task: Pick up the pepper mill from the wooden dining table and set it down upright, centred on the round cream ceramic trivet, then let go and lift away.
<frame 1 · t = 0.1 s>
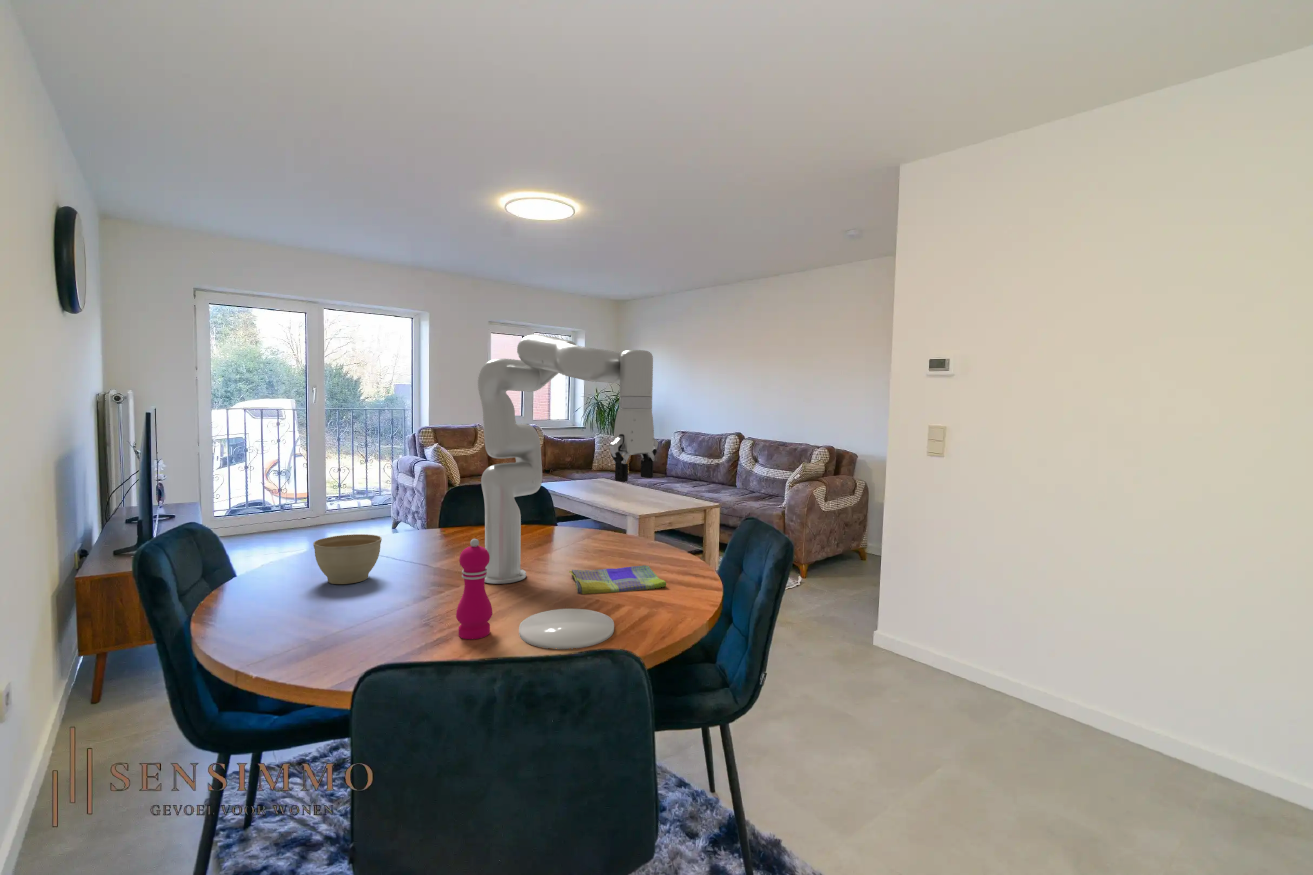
hand: (634, 479, 136), 31 cm above the table, tool pointing down, fingers open, 9 cm apart
planter bowl: (348, 580, 158), on the table
dish towel: (616, 584, 161), on the table
pepper mill: (474, 634, 123), on the table
trivet: (567, 630, 126), on the table
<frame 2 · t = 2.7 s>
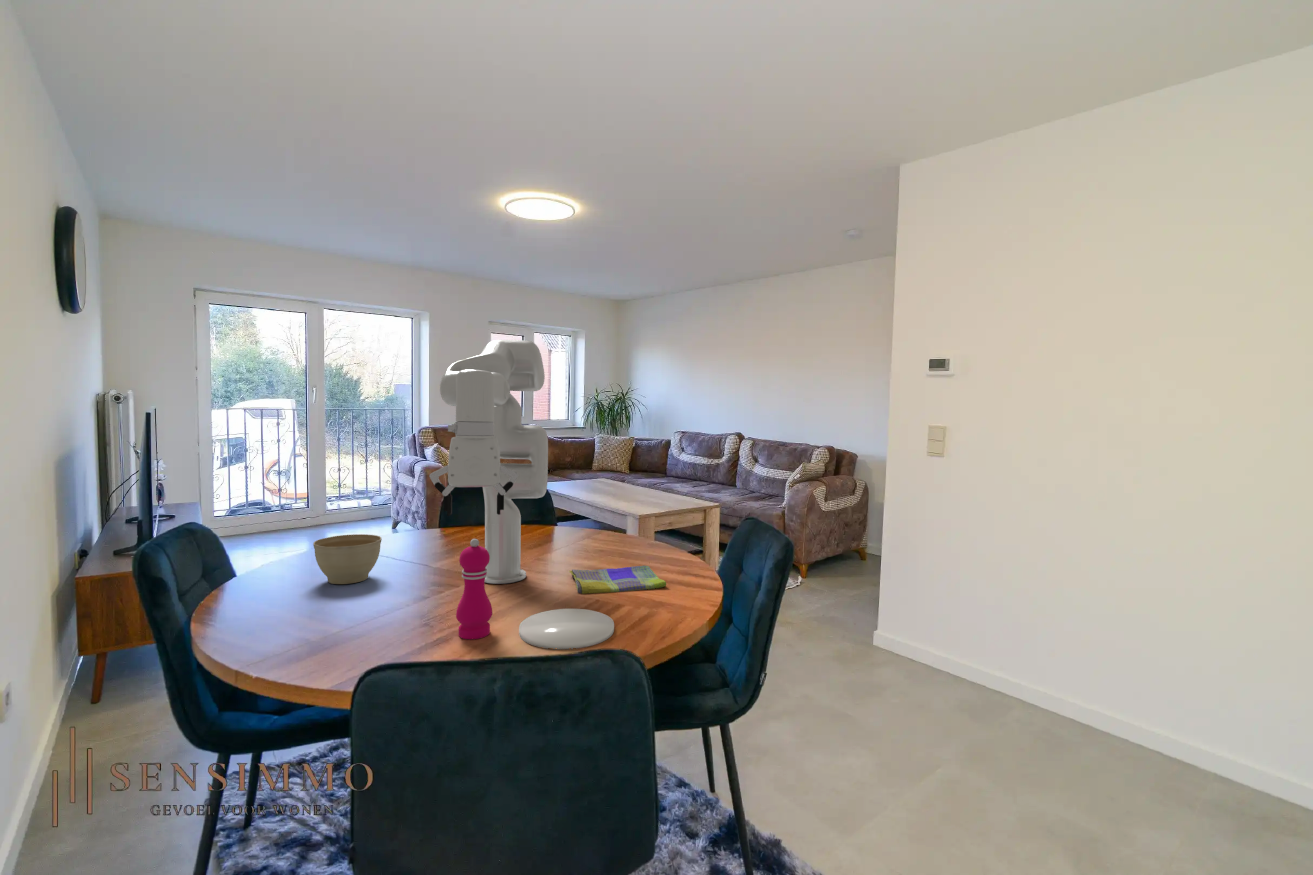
hand: (474, 514, 121), 25 cm above the table, tool pointing down, fingers open, 9 cm apart
nothing on the table moved.
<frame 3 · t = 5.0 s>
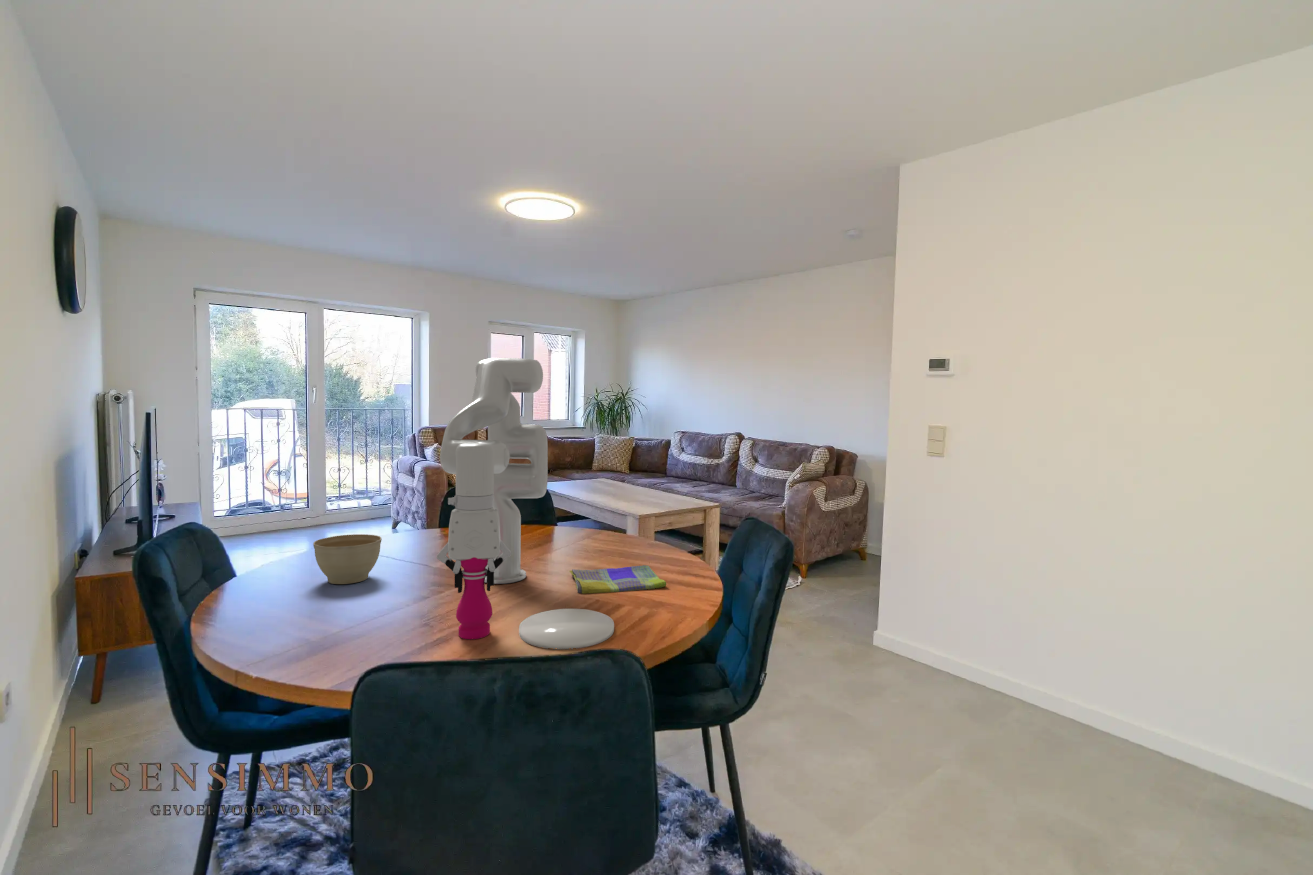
hand: (474, 589, 122), 9 cm above the table, tool pointing down, fingers closed on pepper mill, 5 cm apart
pepper mill: (474, 634, 123), on the table, touching gripper
everything else where it was.
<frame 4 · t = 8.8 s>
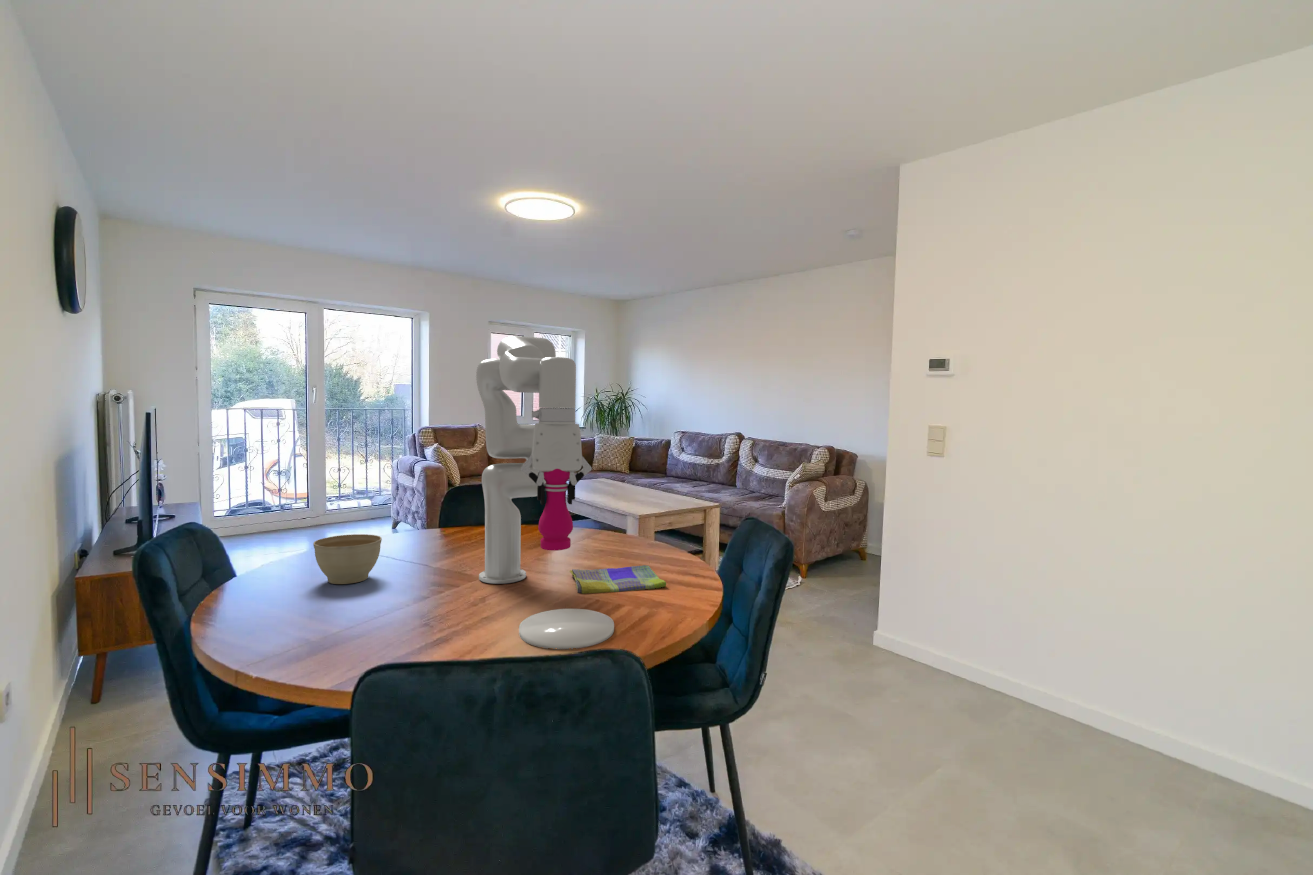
hand: (556, 502, 124), 27 cm above the table, tool pointing down, fingers closed on pepper mill, 5 cm apart
pepper mill: (555, 548, 125), point 18 cm above the table, touching gripper
everything else where it was.
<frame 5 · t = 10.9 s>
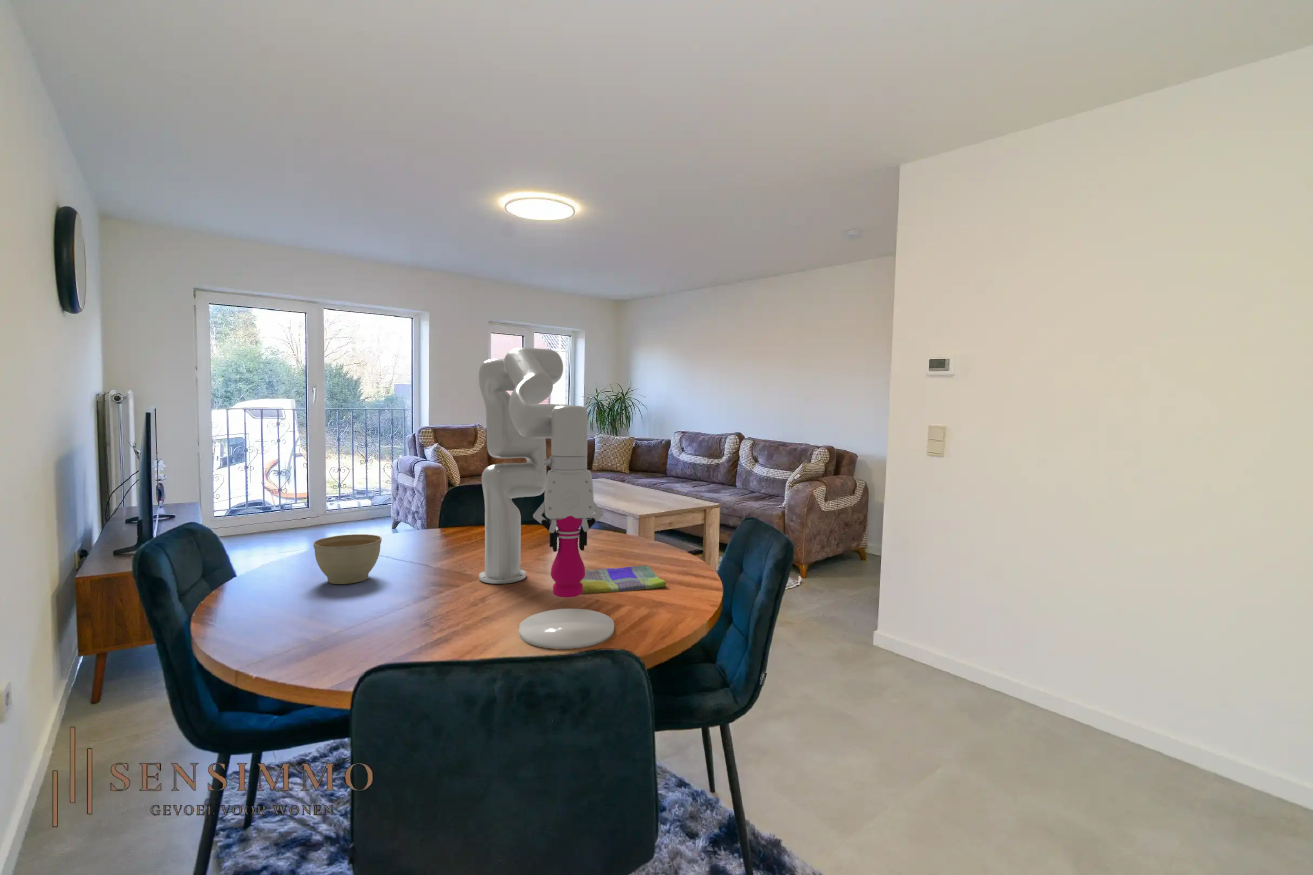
hand: (568, 548, 125), 18 cm above the table, tool pointing down, fingers closed on pepper mill, 5 cm apart
pepper mill: (567, 593, 125), point 8 cm above the table, touching gripper
everything else where it was.
when the fingers open (12 cm above the table, at t = 12.8 s): pepper mill drops 1 cm, resting on trivet.
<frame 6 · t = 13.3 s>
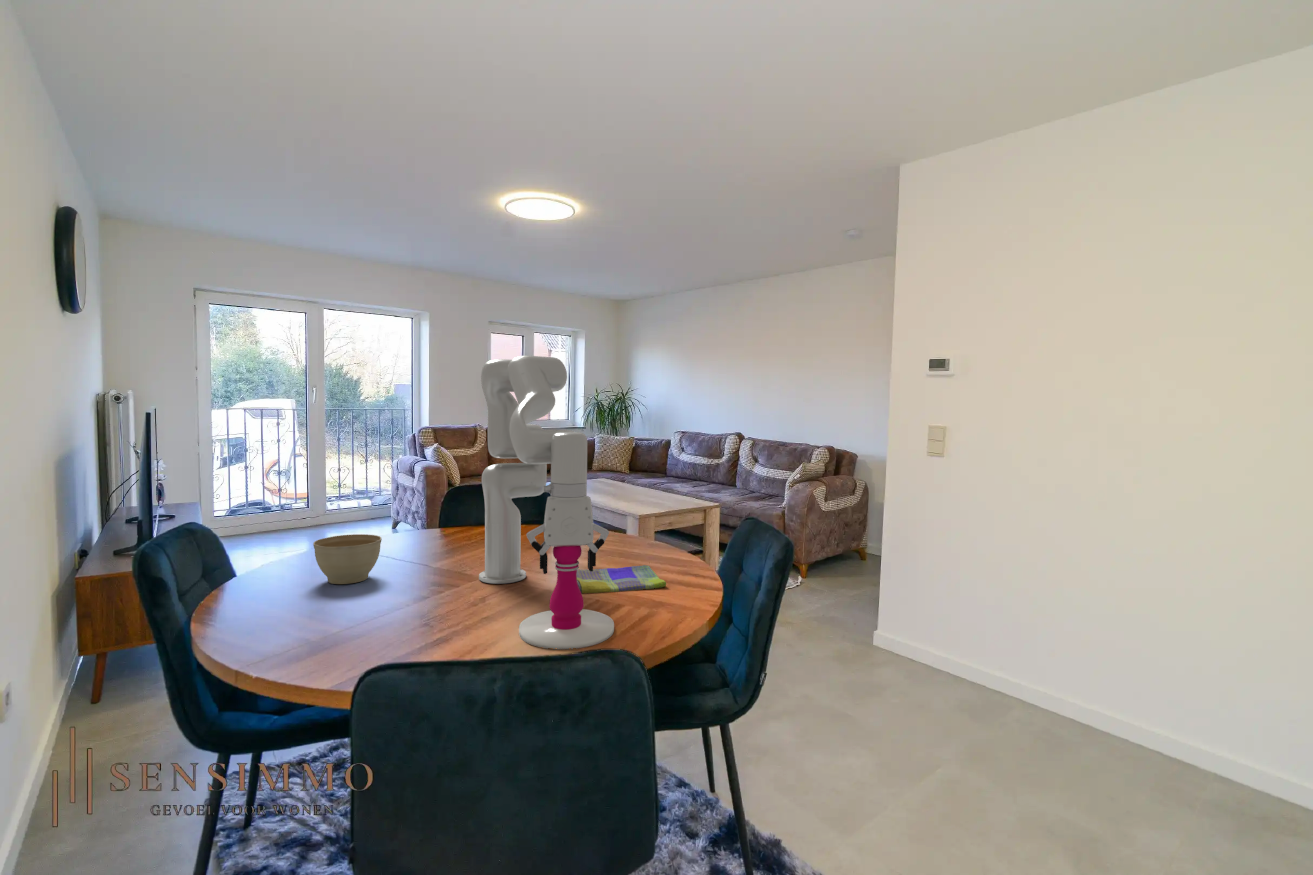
hand: (567, 570, 125), 13 cm above the table, tool pointing down, fingers open, 9 cm apart
pepper mill: (566, 625, 126), point 1 cm above the table, touching trivet
everything else where it was.
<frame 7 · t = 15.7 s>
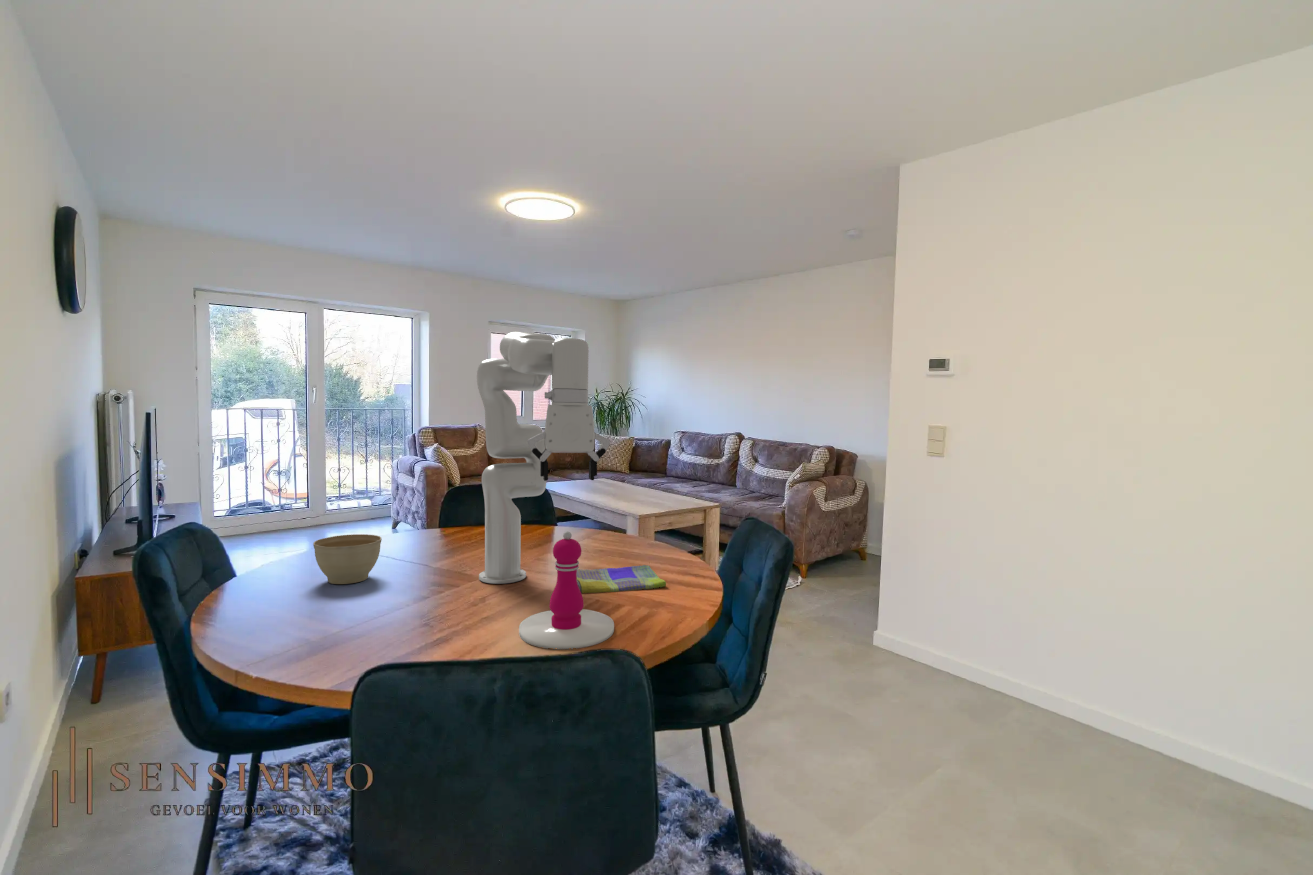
hand: (568, 479, 124), 32 cm above the table, tool pointing down, fingers open, 9 cm apart
nothing on the table moved.
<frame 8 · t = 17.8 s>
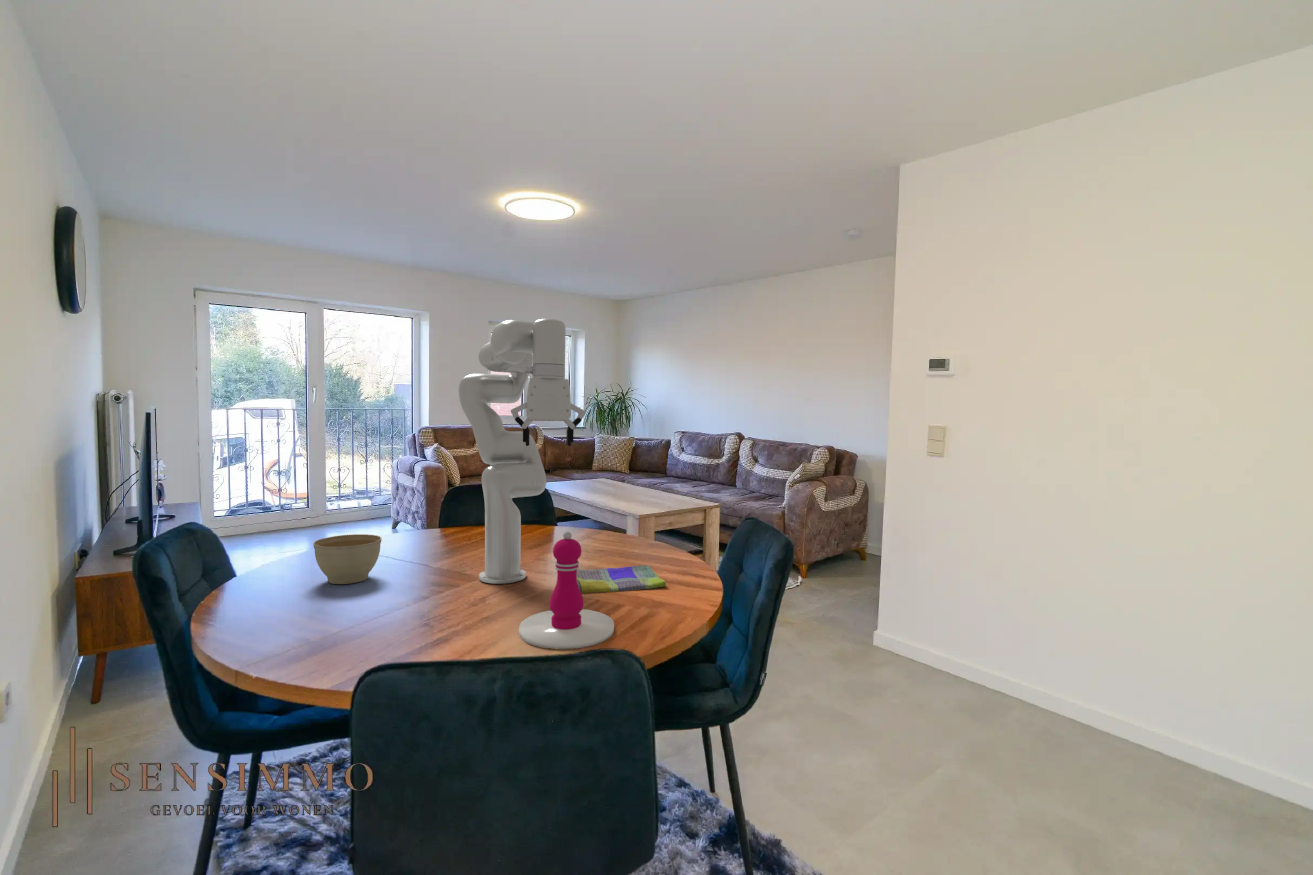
hand: (548, 445, 140), 38 cm above the table, tool pointing down, fingers open, 9 cm apart
nothing on the table moved.
at the end: pepper mill 0.2 cm off-centre on the trivet, point 1.0 cm above the trivet's base; pepper mill tilted 0°; the gripper is holding nothing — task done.
